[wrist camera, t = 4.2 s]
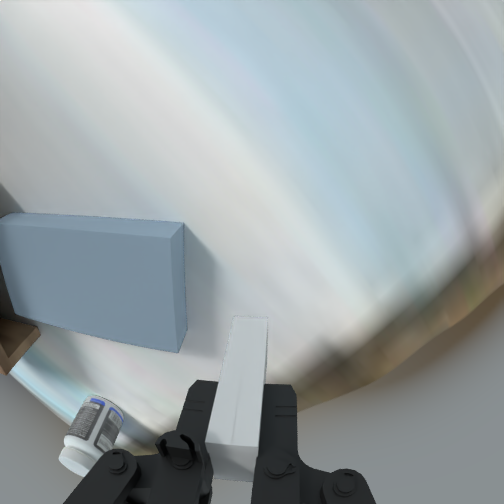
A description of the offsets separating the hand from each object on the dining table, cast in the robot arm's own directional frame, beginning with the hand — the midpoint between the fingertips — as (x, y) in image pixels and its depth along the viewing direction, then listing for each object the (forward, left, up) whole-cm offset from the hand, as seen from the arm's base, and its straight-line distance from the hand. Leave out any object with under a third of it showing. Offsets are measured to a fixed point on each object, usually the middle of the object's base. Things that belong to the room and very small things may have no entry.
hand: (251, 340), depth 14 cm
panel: (-12, 0, -7) cm, 14 cm away
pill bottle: (-16, -17, -6) cm, 24 cm away
